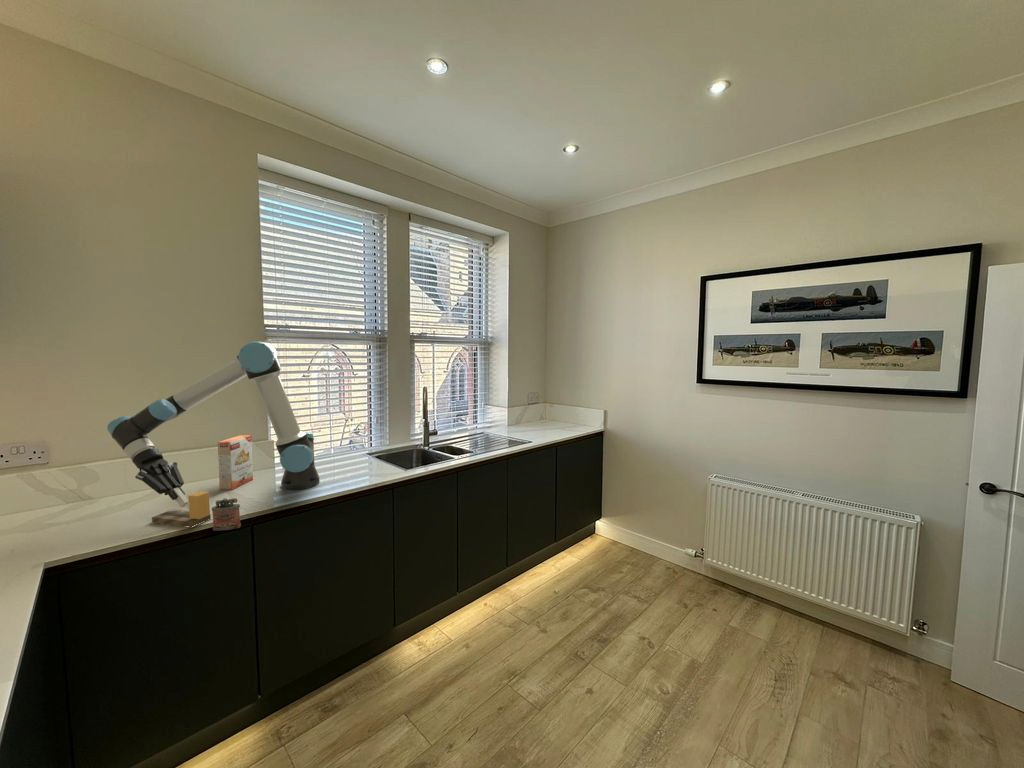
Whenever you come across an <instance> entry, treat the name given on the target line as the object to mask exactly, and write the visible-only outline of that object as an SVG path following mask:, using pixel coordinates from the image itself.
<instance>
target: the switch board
mask: <svg viewBox="0 0 1024 768" xmlns="http://www.w3.org/2000/svg"><path fill="white" fill-rule="evenodd" d="M211 515H212V514H211V513H210V515H208V516H206V517H203V518H201V519H193V518H190V515H189V510H182V509H170V510H167V511H165V512H162V513H159V514H156V515H154V516H152V517H151V522H154V523H153V524H159V523H162V524H161V525H166V524H171V525H170V526H174V525H180V526H179V527H182V526H189V527H188V528H190V527H192V526H194V525H196V524H199V523H201V522H203V521H206V520H208V519H210V518H211ZM211 519H212V518H211ZM211 519H210V520H211ZM208 521H209V520H208ZM206 522H207V521H206ZM203 523H204V522H203ZM201 524H202V523H201ZM199 525H200V524H199ZM196 526H197V525H196ZM194 527H195V526H194ZM192 528H193V527H192Z"/></svg>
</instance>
